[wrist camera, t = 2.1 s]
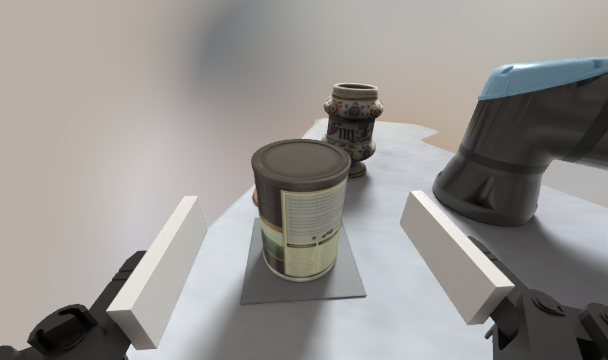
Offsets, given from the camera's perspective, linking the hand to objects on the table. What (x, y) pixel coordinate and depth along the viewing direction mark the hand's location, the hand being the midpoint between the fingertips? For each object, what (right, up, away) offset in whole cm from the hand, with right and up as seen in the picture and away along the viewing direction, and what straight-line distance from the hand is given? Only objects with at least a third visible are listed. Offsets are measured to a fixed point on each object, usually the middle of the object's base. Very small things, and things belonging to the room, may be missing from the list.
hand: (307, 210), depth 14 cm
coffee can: (-1, -8, +16) cm, 18 cm away
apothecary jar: (+9, +5, +38) cm, 39 cm away
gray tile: (-1, -8, +16) cm, 18 cm away
